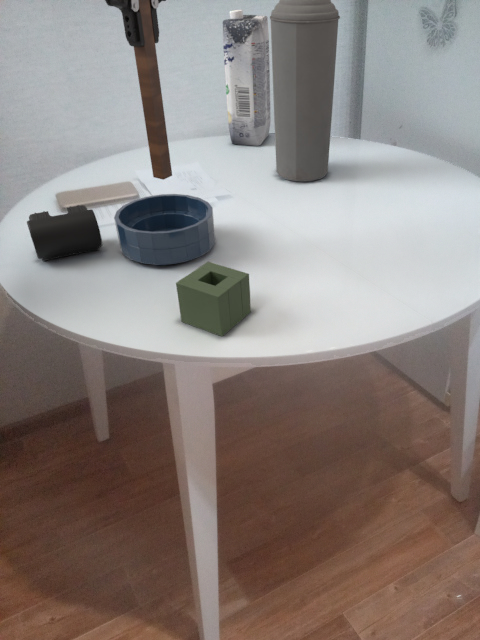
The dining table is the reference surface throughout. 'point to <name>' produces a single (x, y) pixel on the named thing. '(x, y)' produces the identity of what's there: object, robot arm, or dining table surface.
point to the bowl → (165, 229)
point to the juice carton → (247, 77)
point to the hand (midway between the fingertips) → (143, 44)
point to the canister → (303, 85)
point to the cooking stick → (152, 97)
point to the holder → (214, 298)
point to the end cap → (64, 233)
